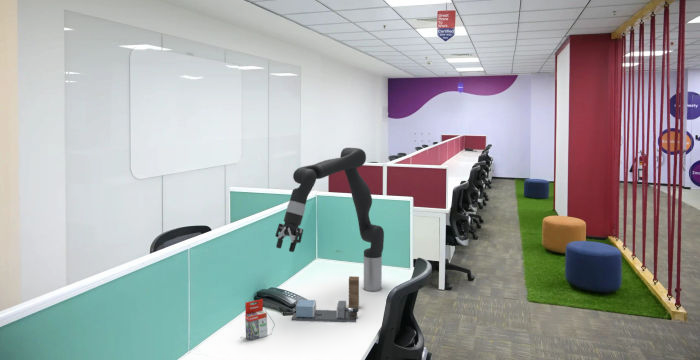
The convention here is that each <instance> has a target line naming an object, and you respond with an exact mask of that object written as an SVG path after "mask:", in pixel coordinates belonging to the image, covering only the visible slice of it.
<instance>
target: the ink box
mask: <svg viewBox="0 0 700 360" xmlns="http://www.w3.org/2000/svg"><path fill="white" fill-rule="evenodd" d="M244 315H245V316H244V317H245V318H244V319H245V322H244V323H245V338H246V339H247V340H248V341H253V340H257V339H259V338H264V337H267V336H268V320H267V319H268V316H267V312H266V311H265V310H264V299H263V298H260V299H257V300H252V301H251V300H250V301H247V302H245V314H244Z"/></svg>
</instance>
